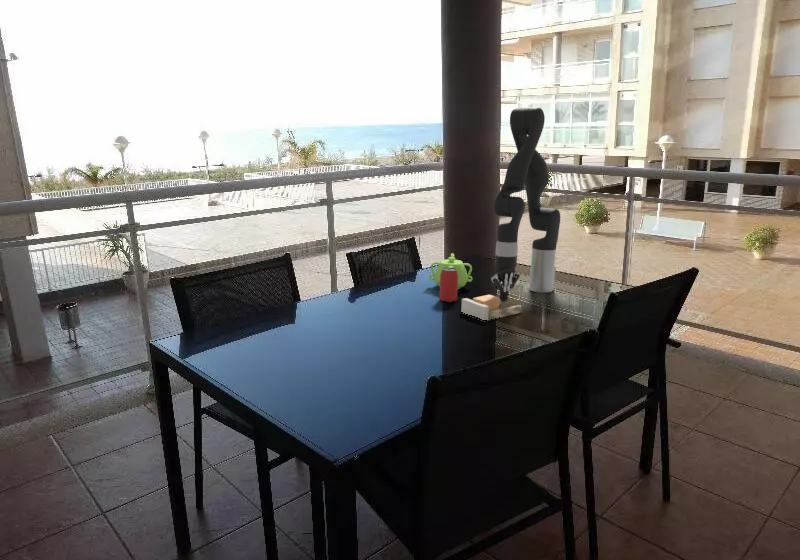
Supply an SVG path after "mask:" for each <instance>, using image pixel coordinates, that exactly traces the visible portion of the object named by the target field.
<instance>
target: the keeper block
mask: <svg viewBox="0 0 800 560" xmlns="http://www.w3.org/2000/svg"><path fill="white" fill-rule="evenodd" d="M472 300H473V301H476V302H479V303H481V304H484V305H487V306H489V312H490V311H494V310H499V309H500V306H499V304H500V296H496V295H493V294H486V295H481V296H476V297H473V298H472Z"/></svg>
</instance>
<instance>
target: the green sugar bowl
mask: <svg viewBox="0 0 800 560" xmlns="http://www.w3.org/2000/svg"><path fill="white" fill-rule="evenodd" d="M435 265H437V267H436V268H435V269H436V270H435V269H434V266H435ZM465 266H466V267H469V271H468V273H467V269H466V267H465ZM443 268H455V269H457V273H458V289H461V288H464V287H465V285H466V284H467V282H468V283H471V282H472V281H473V276H471V273H472V270H473V267H472V265H471V264H470V263H468V262H467V263H466V262H464V263H463V261H462V260H459V259H456V257H455V254H454V253H453V252H452V253H450V256H449V257H447V259H442V260H440V261H433V262H432V263H431V264H430V270H431V274H430V275H429V279H430V280H431V281H434V283H435V284H436V285H437V286H438V287H440V274H441V271H442V269H443Z"/></svg>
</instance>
